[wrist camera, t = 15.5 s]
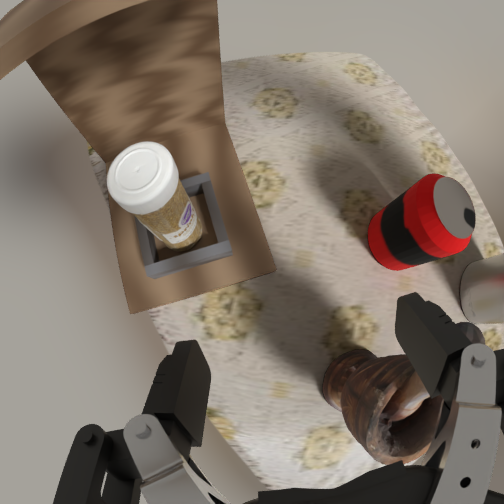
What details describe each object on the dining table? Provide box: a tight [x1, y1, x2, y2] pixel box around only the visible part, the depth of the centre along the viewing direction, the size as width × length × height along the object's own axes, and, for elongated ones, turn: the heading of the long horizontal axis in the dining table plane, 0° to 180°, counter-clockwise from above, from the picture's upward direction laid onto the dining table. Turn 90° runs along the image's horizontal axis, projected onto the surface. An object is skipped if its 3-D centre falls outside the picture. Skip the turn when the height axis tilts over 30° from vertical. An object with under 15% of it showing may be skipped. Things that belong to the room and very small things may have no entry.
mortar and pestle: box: [323, 322, 485, 465], centre depth 17 cm, size 12×9×20 cm
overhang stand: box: [0, 0, 277, 314], centre depth 17 cm, size 16×21×26 cm
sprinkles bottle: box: [107, 141, 202, 251], centre depth 21 cm, size 5×5×14 cm
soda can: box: [368, 174, 476, 271], centre depth 24 cm, size 8×8×12 cm
